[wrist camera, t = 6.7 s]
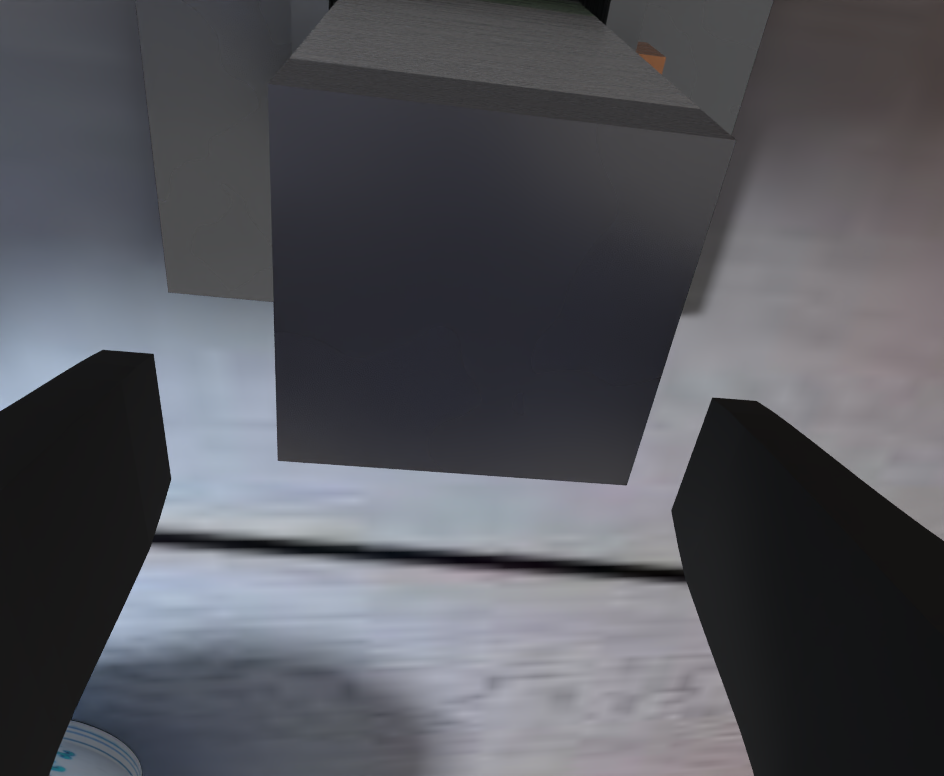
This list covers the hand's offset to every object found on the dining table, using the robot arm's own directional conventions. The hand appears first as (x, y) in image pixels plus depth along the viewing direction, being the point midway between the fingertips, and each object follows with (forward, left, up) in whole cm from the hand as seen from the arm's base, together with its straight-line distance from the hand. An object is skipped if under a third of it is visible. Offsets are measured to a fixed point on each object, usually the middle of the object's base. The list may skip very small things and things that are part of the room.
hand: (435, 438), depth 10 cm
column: (+3, +2, -5) cm, 6 cm away
